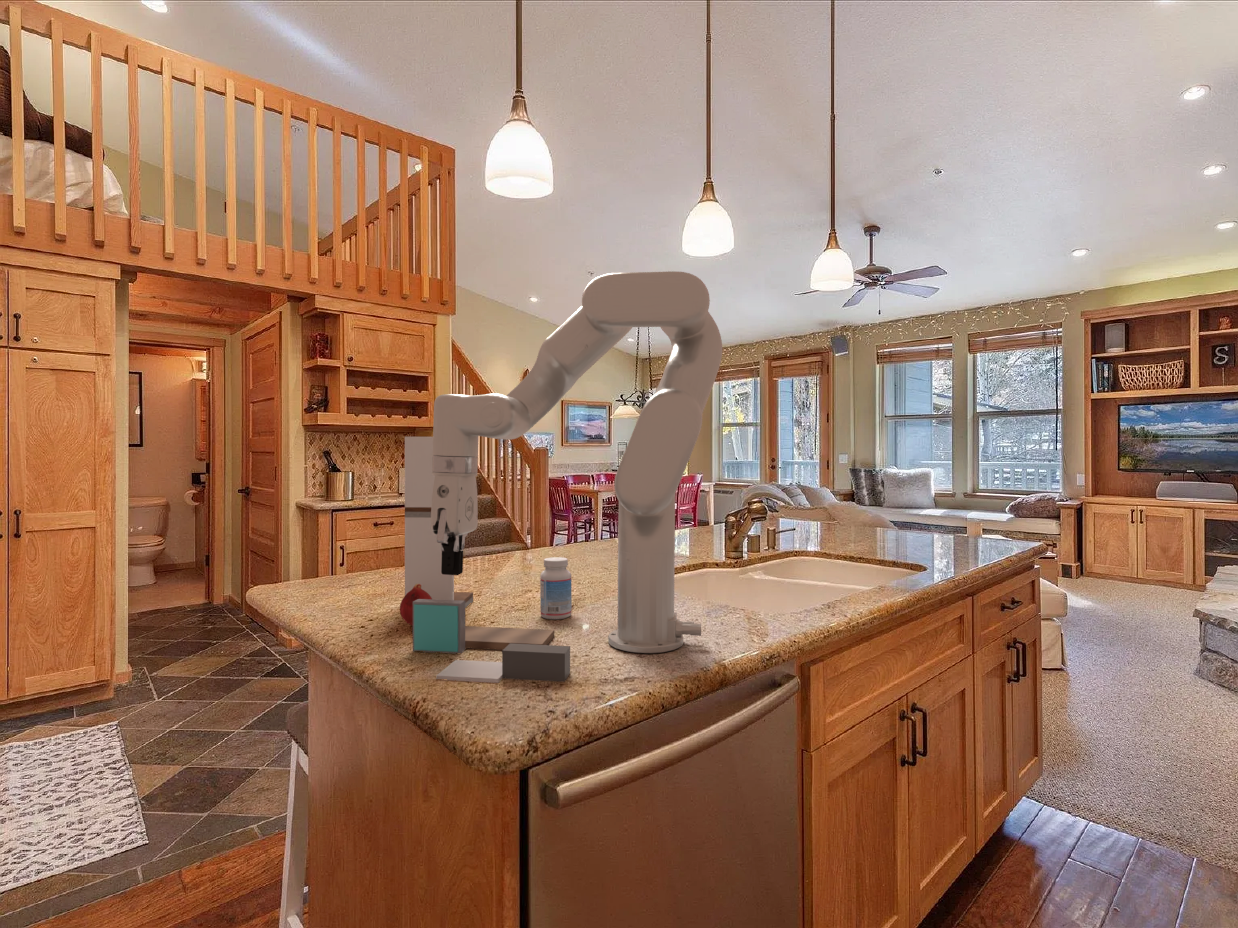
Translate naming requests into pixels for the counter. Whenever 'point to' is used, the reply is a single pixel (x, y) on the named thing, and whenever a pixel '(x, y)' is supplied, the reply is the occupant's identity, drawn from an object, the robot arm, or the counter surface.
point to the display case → (424, 526)
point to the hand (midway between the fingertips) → (452, 573)
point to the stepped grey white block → (515, 665)
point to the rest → (504, 637)
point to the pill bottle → (555, 589)
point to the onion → (407, 602)
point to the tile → (439, 625)
